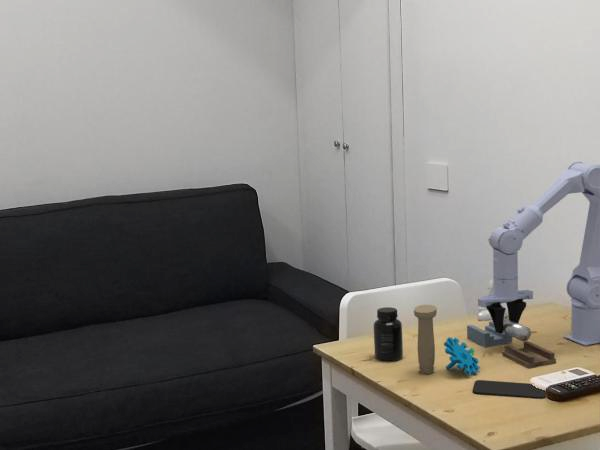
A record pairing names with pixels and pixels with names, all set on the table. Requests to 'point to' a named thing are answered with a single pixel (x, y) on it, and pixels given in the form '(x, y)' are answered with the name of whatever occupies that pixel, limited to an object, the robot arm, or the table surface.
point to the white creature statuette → (483, 311)
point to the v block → (487, 336)
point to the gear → (461, 356)
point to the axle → (516, 330)
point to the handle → (426, 337)
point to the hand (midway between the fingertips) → (506, 331)
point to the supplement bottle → (388, 335)
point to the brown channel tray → (529, 355)
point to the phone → (507, 389)
